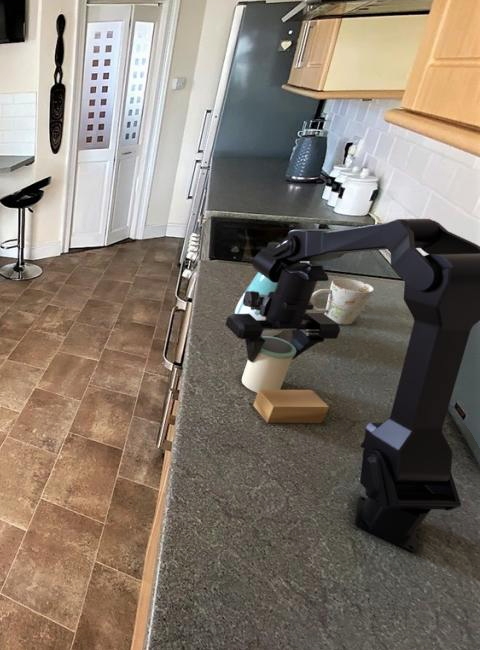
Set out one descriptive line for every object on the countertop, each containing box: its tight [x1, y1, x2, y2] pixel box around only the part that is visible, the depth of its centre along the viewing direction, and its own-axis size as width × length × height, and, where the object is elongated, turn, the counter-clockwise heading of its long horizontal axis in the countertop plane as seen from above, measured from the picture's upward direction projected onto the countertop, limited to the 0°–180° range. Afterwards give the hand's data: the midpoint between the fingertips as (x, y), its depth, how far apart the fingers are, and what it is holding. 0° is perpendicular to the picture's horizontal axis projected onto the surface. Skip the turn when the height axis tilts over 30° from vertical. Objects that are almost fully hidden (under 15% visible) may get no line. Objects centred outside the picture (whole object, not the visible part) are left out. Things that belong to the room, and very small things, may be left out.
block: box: [253, 389, 330, 424], centre depth 83 cm, size 5×10×4 cm, turn 88°
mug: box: [310, 278, 375, 325], centre depth 113 cm, size 8×13×10 cm, turn 78°
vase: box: [234, 271, 284, 337], centre depth 107 cm, size 12×12×18 cm
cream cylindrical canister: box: [241, 336, 296, 394], centre depth 90 cm, size 12×7×12 cm
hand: (268, 360), depth 89 cm, fingers closed on cream cylindrical canister, 7 cm apart
